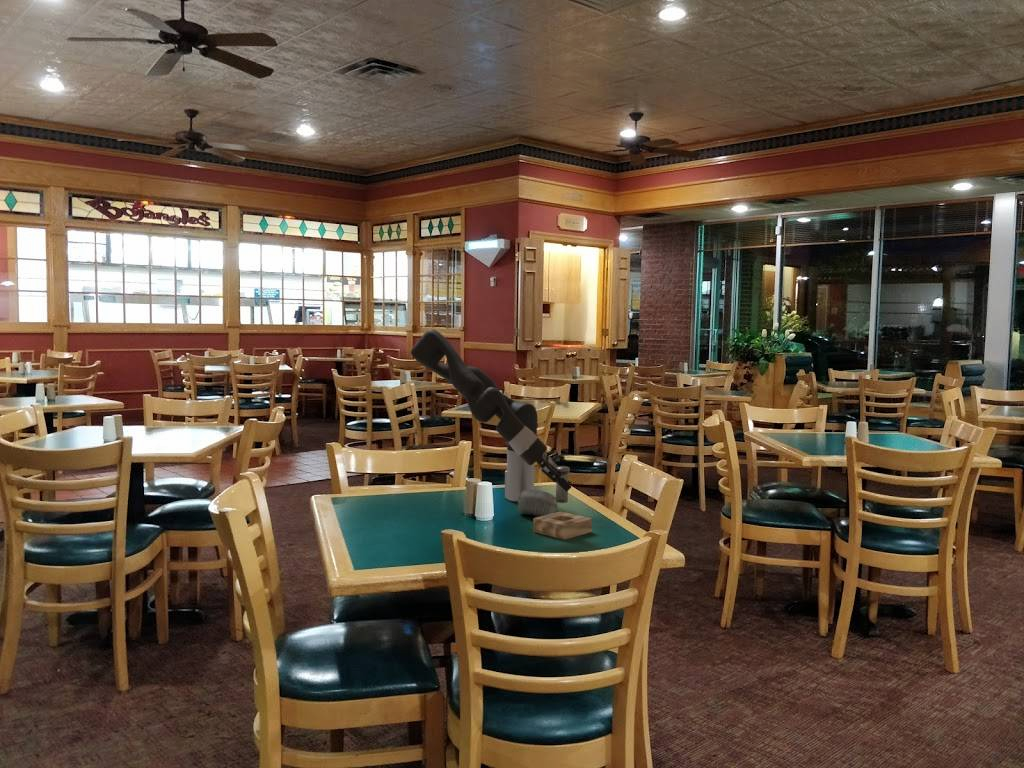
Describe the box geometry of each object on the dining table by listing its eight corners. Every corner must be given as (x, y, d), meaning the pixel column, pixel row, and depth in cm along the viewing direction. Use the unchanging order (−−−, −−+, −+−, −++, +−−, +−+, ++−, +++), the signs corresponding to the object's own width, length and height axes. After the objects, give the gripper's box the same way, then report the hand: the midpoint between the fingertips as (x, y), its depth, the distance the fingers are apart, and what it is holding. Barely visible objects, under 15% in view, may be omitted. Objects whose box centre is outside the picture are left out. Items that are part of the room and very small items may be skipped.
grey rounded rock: (506, 504, 258) (522, 477, 259) (524, 513, 265) (539, 486, 266) (535, 523, 249) (551, 494, 250) (552, 531, 256) (568, 503, 256)
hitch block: (533, 531, 239) (533, 518, 238) (560, 524, 247) (560, 511, 247) (564, 539, 230) (564, 525, 230) (591, 531, 239) (591, 518, 239)
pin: (551, 501, 238) (552, 467, 237) (561, 499, 241) (561, 465, 240) (562, 503, 235) (563, 469, 234) (572, 501, 238) (572, 467, 237)
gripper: (520, 450, 245) (560, 491, 245) (516, 458, 231) (559, 502, 231) (538, 433, 244) (578, 474, 244) (535, 440, 230) (578, 484, 230)
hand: (569, 487), depth 237 cm, fingers closed on pin, 3 cm apart
